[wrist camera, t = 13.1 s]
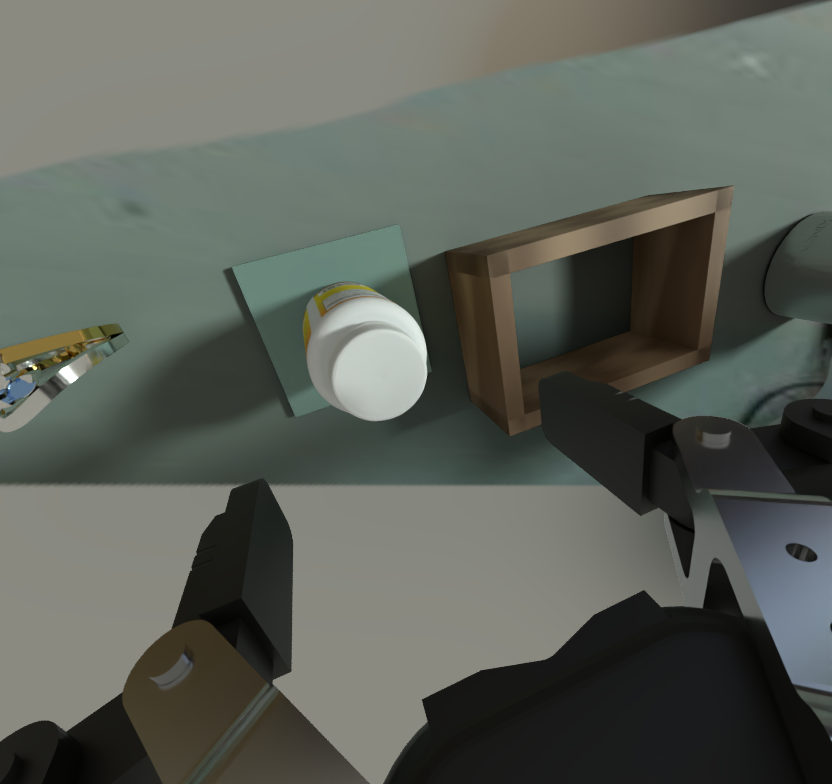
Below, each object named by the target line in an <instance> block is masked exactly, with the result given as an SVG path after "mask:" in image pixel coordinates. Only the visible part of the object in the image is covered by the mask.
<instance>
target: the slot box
mask: <svg viewBox="0 0 832 784" xmlns="http://www.w3.org/2000/svg"><path fill="white" fill-rule="evenodd" d="M733 191H734V186H726V187H717V188H708V189H699V190H691V191H682V192H673V193H665V194H656V195H648V196H644V197H641V198H637V199H634V200H630V201H626V202H623V203H619V204H615V205H612V206H608V207H605V208H601V209H597V210H594V211H590V212H586V213H583V214H579V215H576V216H572V217H568V218H565V219H561V220H557V221H554V222H550V223H546V224H543V225H539V226H536V227H532V228H528V229H525V230H521V231H517V232H514V233H510V234H507V235H503V236H499V237H496V238H492V239H488V240H485V241H481V242H478V243H474V244H470V245H467V246H463V247H459V248H456V249H452V250H448V251H445V256H446V262H447V267H448V273H449V279H450V284H451V290H452V296H453V301H454V307H455V313H456V319H457V324H458V330H459V336H460V341H461V347H462V353H463V358H464V364H465V370H466V376H467V381H468V387H469V393H470V398H471V401H472V402H473V403H474V404H475V405H476V406H477V407H478V408H480V409H481V410H482V411H483V412H484V413H485V414H486V415H487V416H488V417H489V418H490V419H491V420H493V421H494V422H495V423H496V424H497V425H498V426H499V427H500V428H501V429H502V430H503V431H505V432H506V433H507V434H508V435H509V436H513V435H515V434H518V433H520V432H523V431H526V430H528V429H531V428H533V427H536V426H539V425H541V424H542V423H541V412H540V401H539V390H538V384H539V381H540V380H541V379H542V378H545V377H548V376H551V375H553V374H556V373H559V372H562V371H569V372H571V373H573V374H575V375H577V376H579V377H581V378H583V379H585V380H590V381H595V382H600V383H605V384H608V385H610V386H612V387H614V388H616V389H618V390H621V391H622V393H624V392H627V391H630V390H632V389H635V388H637V387H640V386H643V385H645V384H648V383H650V382H653V381H656V380H658V379H661V378H663V377H666V376H669V375H671V374H674V373H676V372H679V371H682V370H684V369H687V368H689V367H692V366H695V365H697V364H700V363H702V362H705V361H708V360H709V357H710V350H711V343H712V336H713V330H714V323H715V316H716V309H717V302H718V295H719V288H720V281H721V274H722V267H723V260H724V253H725V246H726V239H727V232H728V225H729V218H730V211H731V204H732V197H733ZM633 236H634V244H633V269H632V294H631V320H630V331H628V332H625V333H622V334H619V335H616V336H614V337H611V338H608V339H605V340H602V341H599V342H596V343H594V344H591V345H588V346H585V347H582V348H579V349H576V350H574V351H571V352H568V353H565V354H562V355H559V356H556V357H554V358H551V359H548V360H545V361H542V362H539V363H537V364H534V365H531V366H528V367H525V368H522V369H520V366H519V356H518V347H517V337H516V327H515V318H514V308H513V298H512V289H511V279H510V273H512V272H515V271H519V270H522V269H526V268H529V267H532V266H536V265H539V264H542V263H546V262H549V261H552V260H556V259H559V258H563V257H566V256H569V255H573V254H576V253H579V252H583V251H586V250H590V249H593V248H596V247H600V246H603V245H606V244H610V243H613V242H617V241H620V240H623V239H627V238H630V237H633Z"/></svg>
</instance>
